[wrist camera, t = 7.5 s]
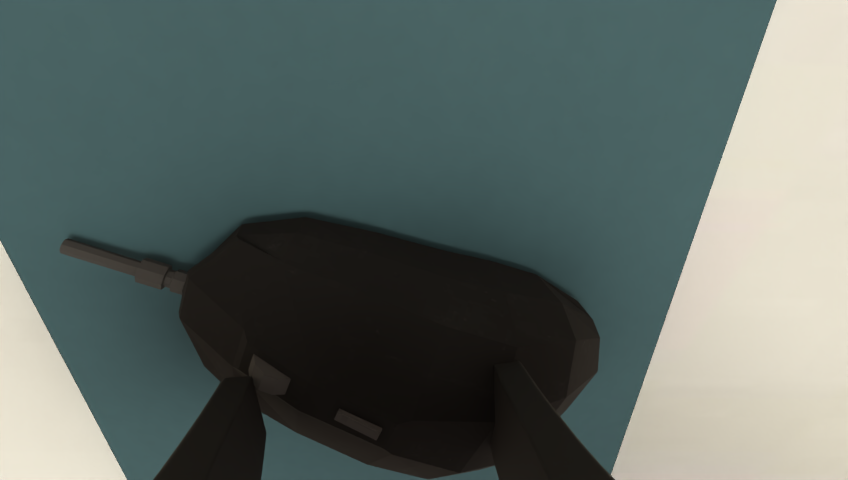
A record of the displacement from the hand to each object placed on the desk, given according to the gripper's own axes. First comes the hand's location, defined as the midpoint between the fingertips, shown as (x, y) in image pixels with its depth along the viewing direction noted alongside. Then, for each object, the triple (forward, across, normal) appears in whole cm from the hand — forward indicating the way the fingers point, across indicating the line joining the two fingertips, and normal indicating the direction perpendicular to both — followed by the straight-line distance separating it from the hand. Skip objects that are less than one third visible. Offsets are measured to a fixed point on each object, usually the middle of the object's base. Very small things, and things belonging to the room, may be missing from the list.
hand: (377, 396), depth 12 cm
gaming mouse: (+3, 0, 0) cm, 3 cm away
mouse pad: (+3, 0, 0) cm, 3 cm away
